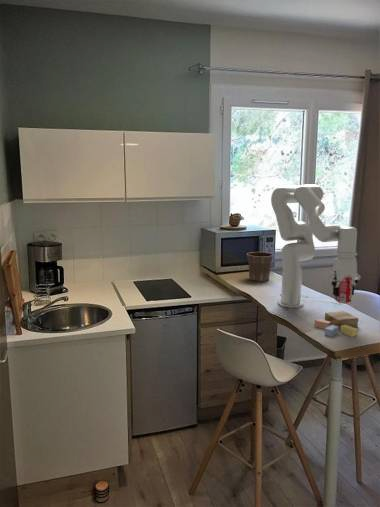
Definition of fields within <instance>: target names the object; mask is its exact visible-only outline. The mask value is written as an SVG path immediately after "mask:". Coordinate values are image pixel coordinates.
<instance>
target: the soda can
mask: <svg viewBox="0 0 380 507" xmlns="http://www.w3.org/2000/svg"><path fill="white" fill-rule="evenodd" d="M336 283H337V281H336ZM338 287H339V296H335V295H334V300H335V301H336V302H337V303H339V304H349V303H351V302H352V297H353V295H352V287H353V279H352V278H351V277H344V279H343V280H342V281H341V282H340V284H339V286H338Z"/></svg>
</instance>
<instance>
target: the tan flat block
mask: <svg viewBox="0 0 380 507" xmlns="http://www.w3.org/2000/svg"><path fill="white" fill-rule="evenodd" d="M324 320H326V321H330V322H331V325H335V326H338V327H339V330H340V329H341V326H342V325H348V326H351V327H353V328H358V324H359V317H356V316H355V315H353V314H351V313H349V312H347V311H345V310H340V311H332V312H325V313H324Z"/></svg>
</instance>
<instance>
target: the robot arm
mask: <svg viewBox="0 0 380 507" xmlns="http://www.w3.org/2000/svg"><path fill="white" fill-rule="evenodd" d="M323 197H324V190H323V189H322V187H321V186H319V185H317V184H302V185H284V186H283V185H282V186H279V187H275V189H274V190H273V191H272V194H271V197H270V200H271V201H270V202H271V207H272V210H273V213H274V215H275V217H276V218H275V219H276V222H277V228H278V232H279V234H280V238H281V239H282V240H283V241H285V242H286V241H288V242H289V243H287V244H285V245H284V246H283V247H282V248H281V251H280V252H281V253H280V254H281V260H282V276H281V280H282V281H281V293H280V294H279V296H280V299H278V301H277V304H278V305H279V306H280V307H283V308H291V309H295V308H296V309H297V308H298V309H299V308H301V307H304V302H303V301H302V300H301V297H302V295H301V294H302V280H303V279H302V278H303V269H302V266H301V264H300V262H305V261H309V260H312V259H313V258H314V257H315V255H316V249H315V244H314V240H313V236H314V237H315V238H316V239H317V240H318V241H319V242H322V243H332V242H337V248H336V249H337V251H336V257H335V258H334V259H333V264H332V268H331V269H332V271H331V275H330V276H329V277H328V278H327V281H328V282H329V283H330V284H331V286H332V288H333V289H332V295H333V296H334V297H335V296H339V287H338V286H339V284H340V282H341V281H342V280H343V279H344V277H351V278H352V279H353V287H352V296H354V294H355V287H356V286H357V283H359V281H360V280H361V278H362V275H360V274H359V273H358V261H357V258H356V256H358V252H357V240H358V229H357V228H356V227H354V226H347V225H344V224H339V223H336V224H333V223H331V224H325V223H323V221H322V219H320V216H321V215H322V214H323V213H324V211H325V209H326V207H325V203H323V201H322V200H323ZM297 203H298V204H299V205H300V207H302V209H303V210H304V211H305V213H306V215H307V216H308V217H307V222H308V224H307V223H306V222H305V221H301V220H299V221H296V219H295V216H294V213H293V210H292V209H291V208H290V207H289V205H288V204H297ZM312 235H313V236H312ZM292 241H293V242H292ZM294 241H296V242H294ZM336 281H337V283H336Z"/></svg>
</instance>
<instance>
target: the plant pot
mask: <svg viewBox="0 0 380 507" xmlns="http://www.w3.org/2000/svg"><path fill="white" fill-rule="evenodd" d="M246 257H247V261H248V276H249V277H248V278H249V280H250V281H255V282H260V283H261V282H267V281H269V280H270V274H271V266H272V261H273V257H274V253H271V252H267V251H250V252H247V253H246Z"/></svg>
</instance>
